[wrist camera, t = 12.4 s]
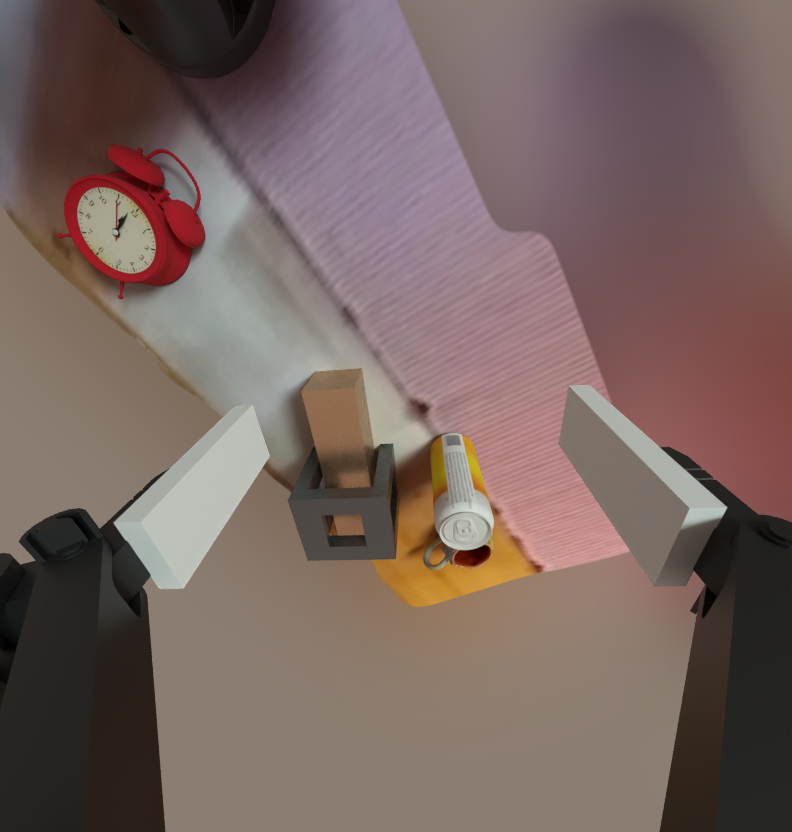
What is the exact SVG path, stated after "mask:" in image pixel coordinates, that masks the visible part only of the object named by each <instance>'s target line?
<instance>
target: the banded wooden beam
mask: <svg viewBox="0 0 792 832" xmlns="http://www.w3.org/2000/svg"><path fill="white" fill-rule="evenodd" d="M301 393H302V397H303V401H304V405H305V409H306V413H307V417H308V421H309V424H310V428H311V432H312V436H313V440H314V444H315V448H316V452H317V455H318V459H319V463H320V467H321V471H322V475H323V479H324V483H325V486H326V489H333V488H360V487H373V485H374V479H375V473H376V467H377V463H376V457H375V450H374V444H373V437H372V431H371V425H370V418H369V412H368V405H367V399H366V392H365V386H364V379H363V373H362V368H360V369H347V370H333V371H319V372H315V373H314V374H313V376H312V377H311V378H310V380H309V381H308V383H307V384H306V385H305V387H304V388H303V390H302V391H301ZM333 517H334V521H335V525H336V529H337V533H338V536H339V535H365V534H364V529H363V524H362V519H361V514H351V515H333Z"/></svg>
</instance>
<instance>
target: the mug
mask: <svg viewBox="0 0 792 832" xmlns="http://www.w3.org/2000/svg"><path fill="white" fill-rule="evenodd" d="M442 542H443V541H442V540H441V538H440V535H439V536H438V537H437V538H436V539H434V540H433V541H432V542H431V544H430V545H429V546H428V548H427V549H426V551H425V553H424V557H423V560H424V564H425V565H426V567H427V568H429V569H431V570H439V569H441V568H443V567H444V566H445V565H446V563H447V562H448V561H449V560H450V563H451V565H452V566H458V567H462V568H468V569H472V568H478V567H479V566H481V565H483V564H484V563H485V562H487V561H488V560H489V559H490V558H491V556H492V547H493V545H494V540H493V538H492V535H491V537H490V539H489V540H488V542H487V543H485V544H484V545H483V546H481V547H478V548H476V549H472V550H458V549H454V548H451V547H449V546H447V545H446V546H444V547H443V552H444V553H445V554H446V556H445V558H444V559H443V560H442V561H441V562H440V563H439V564H437V565H431V564H430V562H429V556H430V553H431V552H432V550H433V549H434V548H435V547H436V546H437V545H439V544H440V543H442Z"/></svg>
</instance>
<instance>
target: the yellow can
mask: <svg viewBox="0 0 792 832" xmlns="http://www.w3.org/2000/svg"><path fill="white" fill-rule="evenodd" d="M430 456H431V472H432V488H433V504H434V520H435V528H436V531H437V533H438V534H439V535H440V538H441V540H442V541H443V542H444V543H445V544H446V545H447V546H449V547H451V548H454V549H458V550H472V549H476V548H478V547H481V546H483V545H484V544H485V543H487V542H488V540H489V539H490V537H491V535H492V529H493V526H494V519H493V515H492V511H491V508H490V504H489V500H488V496H487V493H486V489H485V485H484V482H483V478H482V474H481V470H480V467H479V463H478V459H477V456H476V452H475V448H474V445H473V443H472V441H471V440H470V439H469V438H468V437H466V436H464V435H462V434H458V433H448V434H445V435H442V436H440V437H439V438H437V439H436V440H435V441H434V442H433V444H432V446H431V449H430Z"/></svg>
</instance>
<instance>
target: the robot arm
mask: <svg viewBox="0 0 792 832" xmlns="http://www.w3.org/2000/svg"><path fill="white" fill-rule="evenodd" d="M95 1H96V3H97V4H98V6H99V7H100V8H101V10H102V11H103V12H104V13H105V15H106V16H107V17H108V18H109V19H110V21H111V22H112V23H113V24H114V25H115V26H116V27H117V28H118V29H119V30H120V31H121V32H122V33H123V34H124V35H125V36H126V37H127V38H128V39H129V40H130V41H131V42H132V43H133V44H135V45H136V46H137V47H138V48H140V49H141V50H142V51H144V52H145V53H147V54H148V55H150V56H151V57H153V58H154V59H156V60H157V61H159V62H160V63H162V64H163V65H165V66H167V67H168V68H170V69H172V70H174V71H176V72H179V73H181V74H184V75H187V76H191V77H197V78H213V77H218V76H222V75H225V74H227V73H230V72H232V71H233V70H235V69H237V68H238V67H239V66H241V65H242V64H243V63H244V62H245V61H246V60H247V59H248V58H249V57H250V56H251V55H252V54H253V52H254V51H255V50H256V48H257V47H258V45H259V43H260V42H261V40H262V38H263V36H264V34H265V31H266V29H267V27H268V24H269V21H270V18H271V14H272V10H273V6H274V1H275V0H95ZM559 445H560V447H561V448H562V450H563V451H564V453H565V454H566V456H567V457H568V459H569V460H570V462H571V463H572V465H573V466H574V468H575V469H576V471H577V472H578V473H579V475H580V476H581V478H582V479H583V481H584V482H585V484H586V485H587V487H588V488H589V490H590V491H591V493H592V494H593V496H594V497H595V499H596V500H597V502H598V503H599V505H600V506H601V508H602V509H603V511H604V512H605V514H606V515H607V517H608V518H609V520H610V521H611V523H612V524H613V526H614V527H615V529H616V530H617V532H618V533H619V535H620V536H621V538H622V539H623V541H624V542H625V544H626V545H627V547H628V548H629V550H630V551H631V553H632V554H633V555H634V557H635V559H636V560H637V561H638V563H639V564H640V566H641V567H642V569H643V570H644V572H645V573H646V575H647V576H648V578H649V579H650V581H651V582H652V584H653V585H654V586H686V584H687V583H688V581H689V579H690V577H691V575H692V573H693V571H695V572H696V573H697V575H698V576H699V577H700V578H701V580H702V581H703V582H704V583H705V586H704V588H703V590H702V591H701V593H700V595H699V597H698V598H697V600H696V602H695V603H694V605H693V607H692V609H691V612H693V613H695V614H696V613H697V616H696V622H695V628H694V634H693V640H692V646H691V651H690V657H689V663H688V669H687V675H686V681H685V686H684V692H683V698H682V705H681V711H680V716H679V722H678V728H677V733H676V739H675V745H674V751H673V757H672V763H671V768H670V774H669V780H668V786H667V792H666V798H665V803H664V809H663V815H662V821H661V827H660V832H792V522H789V521H787V520H784V519H781V518H777V517H773V516H768V515H758V514H757V513H756V512H754V511H753V510H752V509H751V508H749V507H748V506H747V505H746V504H745V503H743V502H742V501H741V500H740V499H739V498H737V497H736V496H735V495H734V494H733V493H731V492H730V491H729V490H728V489H726V488H725V487H724V486H723V485H721V483H719V482H718V481H717V480H713V477H712V476H711V475H710V474H708V473H707V472H706V471H705V470H702V468H701V467H700V466H699V465H698V464H696V463H695V462H694V461H693V460H691V459H690V458H689V457H688V456H686V455H684V454H682V453H680V452H678V451H676V450H674V449H672V448H670V447H659V446H658V445H656V444H655V443H654V442H653V441H652V440H651V439H650V438H649V437H647V436H646V435H645V434H644V433H643V432H642V431H641V430H640V429H638V428H637V427H636V426H635V425H634V424H633V423H632V422H631V421H629V420H628V419H627V418H626V417H625V416H624V415H623V414H621V413H620V412H619V411H618V410H617V409H616V408H615V407H614V406H612V405H611V404H610V403H609V402H608V401H607V400H606V399H605V398H603V397H602V396H601V395H600V394H599V393H598V392H597V391H596V390H594V389H593V388H592V387H591V386H590V385H578V386H569V388H568V394H567V400H566V405H565V411H564V417H563V422H562V428H561V434H560V439H559ZM269 457H270V455H269V452H268V449H267V446H266V443H265V440H264V437H263V435H262V432H261V429H260V426H259V423H258V420H257V417H256V414H255V411H254V408H253V405H252V404H251V405H235V406H234V407H233V408H232V409H231V410H230V411H229V412H228V413H227V414H226V415H225V416H224V417H223V418H222V419H221V420H220V421H219V422H218V423H217V424H216V425H215V426H214V427H213V428H211V429H210V430H209V431H208V432H207V433H206V434H205V435H204V436H203V437H202V438H201V439H200V440H199V441H198V442H197V443H196V444H195V445H194V446H193V447H192V448H191V449H190V450H189V451H188V452H187V453H185V454H184V455H183V456H182V457H181V459H179V460H178V461H177V462H176V463H175V464H174V465H173V466H172V467H171V468H169V469H168V470H166V471H164V472H163V473H161V474H160V475H158V476H156V477H155V478H154V479H152V480H151V481H150V482H149V483H148V484H147V485H146V486H145V487H144V488H143V491H140V492H139V493H138V494H136V495H135V496H134V498H133V500H130V501H129V502H128V503H127V504H126V505H125V506H124V507H123V508H122V509H121V510H119V511H118V512H117V513H116V514H115V515H114V516H113V517H112V518H111V519H110V520H109V521H108V522H107V523H106V524H105V525H104V526H102V527H101V528H100V529H99V528H98V526H97V525H96V523H95V522H94V521H93V519H92V518H91V517H90V516H89V514H88V513H87V511H86V510H84V509H80V508H78V509H69V510H66V511H63V512H60V513H57V514H55V515H53V516H50V517H48V518H46V519H44V520H43V521H41V522H39V523H38V524H36V525H35V526H33V527H32V528H31V529H29V530H28V531H27V532H26V533H25V534H24V535H23V536H22V537H21V539H20V540H19V542H20V544H21V545H22V546H23V547H24V548H25V549H26V550H27V551H28V552H29V553H30V554H31V555H32V557H33V558H34V559H35V560H36V561H33V562H29V563H25V564H22V565H20V564H19V563H18V562H17V561H16V560H15V559H14V558H13V556H11V554H7V553H1V554H0V832H165V821H164V808H163V795H162V782H161V770H160V756H159V743H158V730H157V718H156V705H155V691H154V678H153V666H152V654H151V653H152V652H151V639H150V627H149V614H148V601H147V594H146V592H145V590H144V589H143V587H142V586H143V585H144V584H145V582H146V581H147V580H148V579H149V577H150V576H151V578H152V579H153V580H154V582H155V583H156V585H157V586H158V587H159V589H184V587H185V585H186V584H187V582H188V581H189V579H190V578H191V576H192V575H193V573H194V572H195V570H196V569H197V567H198V565H199V564H200V563H201V561H202V559H203V558H204V556H205V555H206V553H207V552H208V550H209V549H210V547H211V546H212V544H213V543H214V541H215V540H216V538H217V537H218V535H219V533H220V532H221V530H222V529H223V527H224V526H225V524H226V523H227V521H228V519H229V518H230V517H231V515H232V514H233V512H234V510H235V509H236V507H237V506H238V504H239V503H240V501H241V500H242V498H243V496H244V495H245V494H246V492H247V491H248V489H249V487H250V486H251V484H252V483H253V481H254V480H255V478H256V477H257V475H258V474H259V472H260V471H261V469H262V468H263V466H264V465H265V463H266V461H267V460H268V458H269Z"/></svg>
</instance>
